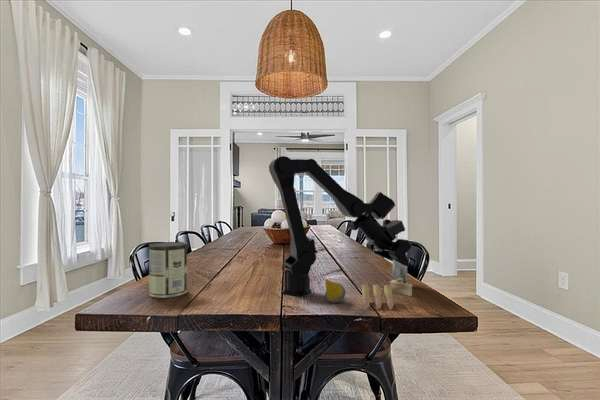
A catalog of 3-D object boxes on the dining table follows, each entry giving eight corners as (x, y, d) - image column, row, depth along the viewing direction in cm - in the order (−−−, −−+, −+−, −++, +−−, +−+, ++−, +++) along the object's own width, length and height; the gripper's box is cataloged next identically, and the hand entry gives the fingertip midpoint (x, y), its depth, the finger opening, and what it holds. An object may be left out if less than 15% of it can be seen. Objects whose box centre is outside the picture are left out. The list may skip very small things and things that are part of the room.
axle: (390, 285, 113) (390, 244, 113) (395, 282, 117) (395, 242, 117) (404, 287, 111) (404, 245, 111) (408, 284, 114) (408, 243, 114)
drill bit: (351, 304, 94) (337, 283, 88) (332, 311, 95) (317, 291, 89) (347, 288, 98) (333, 267, 92) (329, 295, 99) (314, 275, 93)
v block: (395, 296, 101) (395, 285, 101) (385, 287, 110) (385, 278, 110) (413, 295, 101) (413, 285, 101) (402, 287, 110) (402, 278, 110)
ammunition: (361, 282, 97) (364, 290, 89) (390, 283, 96) (394, 291, 88) (361, 300, 97) (363, 309, 89) (389, 301, 96) (394, 311, 88)
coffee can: (164, 287, 109) (164, 241, 109) (194, 290, 106) (194, 242, 106) (140, 296, 99) (140, 245, 99) (172, 299, 96) (173, 246, 96)
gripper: (406, 212, 104) (438, 249, 107) (374, 210, 121) (402, 242, 125) (382, 240, 101) (415, 277, 105) (353, 234, 119) (382, 266, 122)
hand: (403, 264), depth 114 cm, fingers open, 5 cm apart
